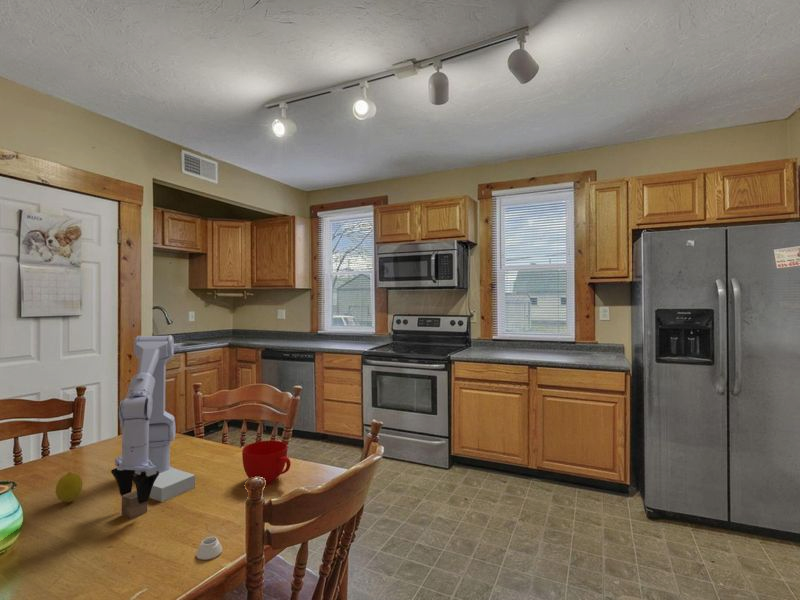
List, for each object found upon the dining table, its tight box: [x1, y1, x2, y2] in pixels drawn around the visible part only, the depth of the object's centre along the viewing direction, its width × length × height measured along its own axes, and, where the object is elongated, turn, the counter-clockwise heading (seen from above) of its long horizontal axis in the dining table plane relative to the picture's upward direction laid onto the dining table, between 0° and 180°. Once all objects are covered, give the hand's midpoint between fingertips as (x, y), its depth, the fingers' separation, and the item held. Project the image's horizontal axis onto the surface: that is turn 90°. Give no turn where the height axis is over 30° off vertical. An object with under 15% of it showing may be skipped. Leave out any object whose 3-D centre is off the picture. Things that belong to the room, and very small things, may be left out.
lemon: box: [55, 471, 83, 504], centre depth 110 cm, size 6×6×8 cm
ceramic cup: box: [241, 440, 292, 486], centre depth 124 cm, size 13×17×10 cm
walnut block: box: [121, 489, 148, 520], centre depth 105 cm, size 4×4×5 cm
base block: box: [149, 467, 196, 503], centre depth 117 cm, size 10×10×4 cm
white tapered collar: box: [195, 536, 223, 560], centre depth 88 cm, size 5×3×5 cm
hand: (134, 498), depth 104 cm, fingers open, 7 cm apart
